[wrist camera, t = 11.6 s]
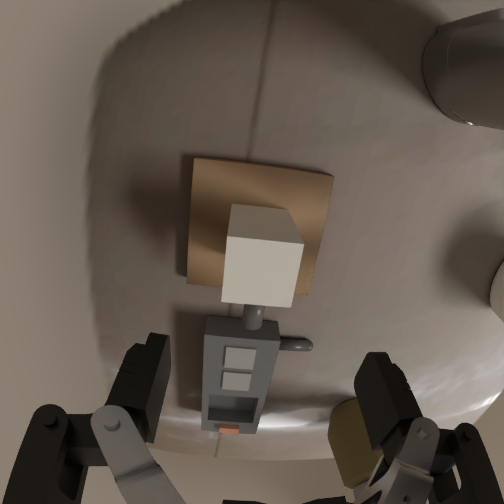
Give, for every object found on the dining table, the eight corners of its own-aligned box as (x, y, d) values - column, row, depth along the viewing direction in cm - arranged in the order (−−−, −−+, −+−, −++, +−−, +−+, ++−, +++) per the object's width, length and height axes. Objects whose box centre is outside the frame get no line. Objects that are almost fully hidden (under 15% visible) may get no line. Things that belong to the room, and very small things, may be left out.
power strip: (207, 315, 29) (203, 338, 26) (317, 324, 30) (324, 347, 27) (203, 412, 36) (201, 433, 33) (285, 417, 37) (287, 438, 34)
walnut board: (196, 156, 23) (194, 158, 22) (331, 174, 24) (334, 176, 23) (188, 278, 28) (186, 283, 27) (305, 289, 28) (307, 295, 27)
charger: (231, 203, 24) (227, 236, 17) (288, 209, 24) (304, 244, 18) (224, 279, 27) (219, 329, 20) (275, 284, 27) (284, 334, 20)
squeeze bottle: (312, 422, 38) (331, 532, 22) (341, 389, 35) (375, 512, 19) (357, 425, 39) (383, 523, 23) (387, 394, 36) (427, 499, 20)
